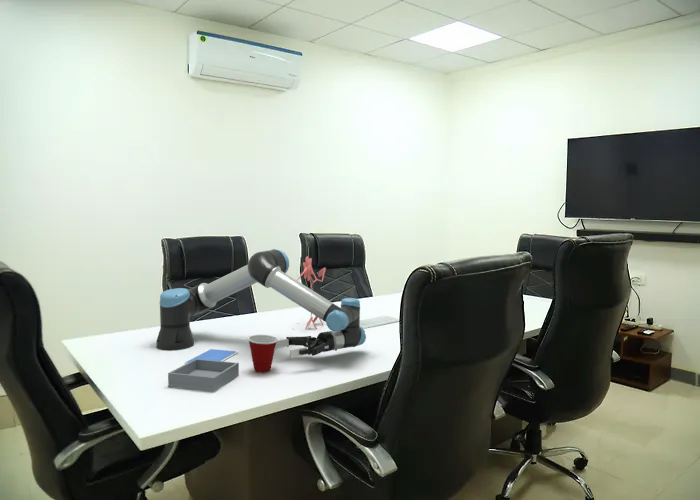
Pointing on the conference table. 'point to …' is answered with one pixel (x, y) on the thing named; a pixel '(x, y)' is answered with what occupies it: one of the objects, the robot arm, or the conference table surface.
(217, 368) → the bin
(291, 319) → the conference table surface
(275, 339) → the plastic cup
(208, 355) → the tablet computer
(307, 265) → the figurine
